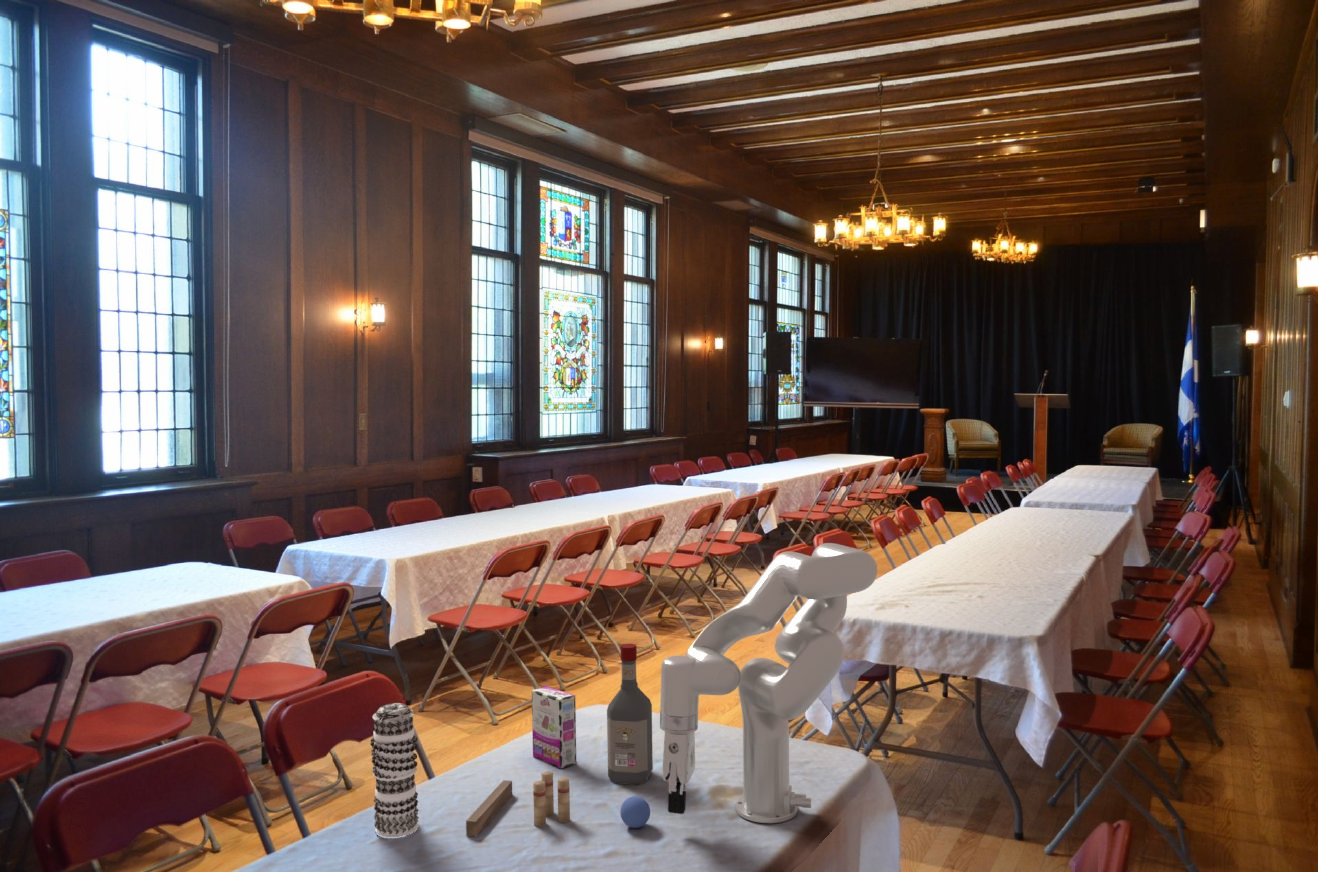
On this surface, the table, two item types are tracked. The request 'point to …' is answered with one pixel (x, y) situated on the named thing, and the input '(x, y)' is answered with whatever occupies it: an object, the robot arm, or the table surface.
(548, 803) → the pin
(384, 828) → the decorative candle
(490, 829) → the table surface
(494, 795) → the rail
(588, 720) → the table surface
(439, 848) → the table surface
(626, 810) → the ball
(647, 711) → the liquor
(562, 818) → the front pin
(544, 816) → the pin
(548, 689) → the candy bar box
